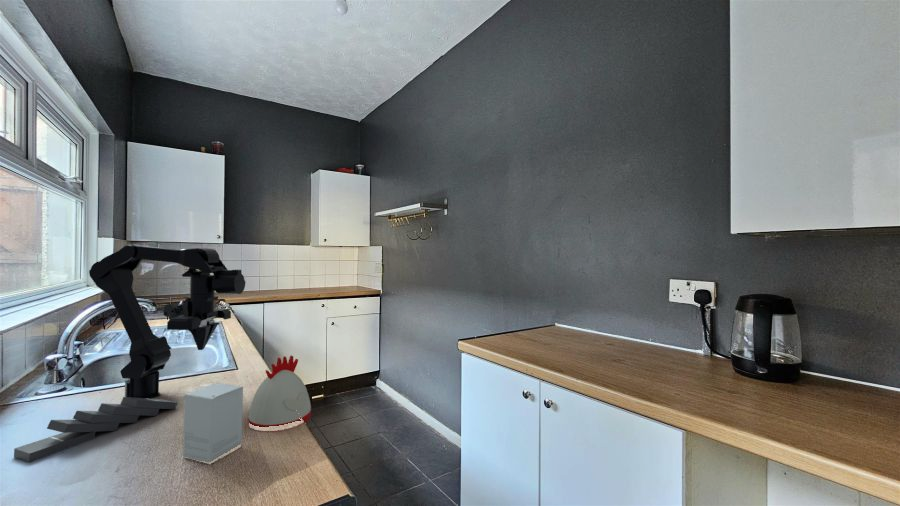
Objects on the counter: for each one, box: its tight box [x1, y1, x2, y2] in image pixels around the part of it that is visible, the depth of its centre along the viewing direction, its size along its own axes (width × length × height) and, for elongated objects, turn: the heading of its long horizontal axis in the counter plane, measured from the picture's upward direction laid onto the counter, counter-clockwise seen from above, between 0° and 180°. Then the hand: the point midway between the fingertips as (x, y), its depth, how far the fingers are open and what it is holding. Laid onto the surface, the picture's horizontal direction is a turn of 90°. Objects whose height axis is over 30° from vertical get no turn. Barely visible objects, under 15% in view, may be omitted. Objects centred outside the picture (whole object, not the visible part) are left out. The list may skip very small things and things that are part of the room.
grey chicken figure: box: [247, 354, 312, 427], centre depth 90 cm, size 14×14×15 cm
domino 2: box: [46, 419, 120, 433], centre depth 78 cm, size 2×5×10 cm
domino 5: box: [120, 396, 179, 410], centre depth 90 cm, size 2×5×10 cm
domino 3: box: [72, 410, 140, 424], centre depth 82 cm, size 2×5×10 cm
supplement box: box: [182, 382, 244, 462], centre depth 74 cm, size 7×7×13 cm
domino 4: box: [97, 402, 160, 417], centre depth 86 cm, size 2×5×10 cm
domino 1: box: [13, 432, 96, 463], centre depth 74 cm, size 2×5×10 cm
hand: (200, 349), depth 102 cm, fingers closed
